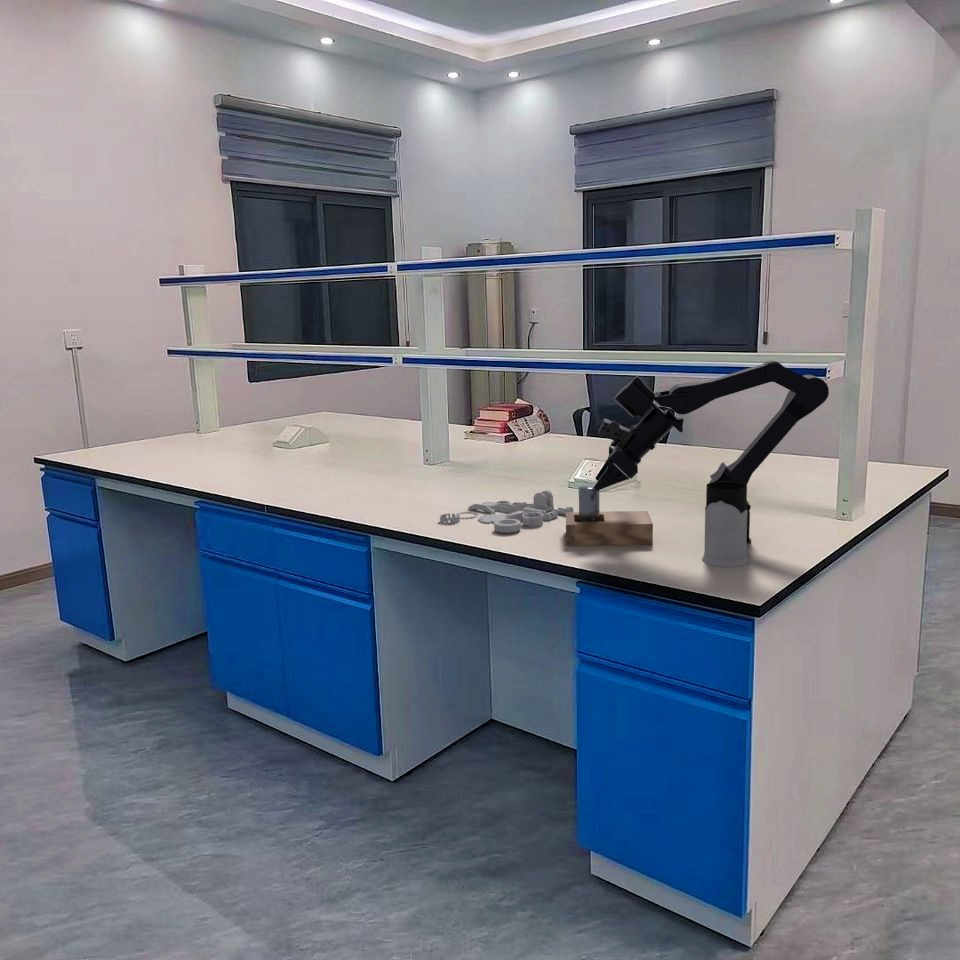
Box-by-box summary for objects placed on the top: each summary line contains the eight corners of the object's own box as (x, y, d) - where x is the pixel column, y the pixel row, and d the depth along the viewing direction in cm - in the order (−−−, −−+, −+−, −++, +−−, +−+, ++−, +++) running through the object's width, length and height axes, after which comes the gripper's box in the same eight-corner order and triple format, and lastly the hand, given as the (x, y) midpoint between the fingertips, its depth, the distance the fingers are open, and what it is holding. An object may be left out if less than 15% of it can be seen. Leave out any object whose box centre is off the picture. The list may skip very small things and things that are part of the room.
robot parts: (430, 524, 207) (428, 502, 206) (498, 502, 225) (497, 482, 224) (509, 540, 191) (508, 517, 190) (575, 515, 209) (575, 494, 208)
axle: (602, 531, 188) (602, 486, 186) (595, 536, 184) (595, 490, 182) (583, 529, 190) (582, 485, 188) (576, 534, 186) (575, 489, 184)
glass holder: (696, 563, 167) (697, 488, 164) (716, 544, 179) (718, 474, 176) (741, 569, 163) (743, 492, 160) (760, 549, 175) (762, 477, 171)
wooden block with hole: (647, 530, 191) (647, 510, 191) (652, 544, 181) (652, 523, 180) (566, 531, 193) (565, 512, 192) (566, 545, 182) (565, 524, 182)
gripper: (620, 400, 189) (571, 450, 193) (620, 411, 171) (565, 467, 175) (657, 435, 190) (607, 484, 194) (660, 450, 172) (605, 504, 176)
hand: (596, 484), depth 185 cm, fingers open, 9 cm apart
